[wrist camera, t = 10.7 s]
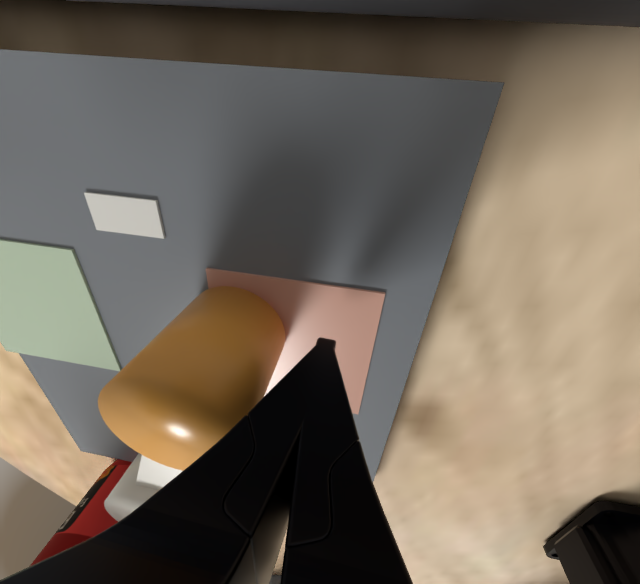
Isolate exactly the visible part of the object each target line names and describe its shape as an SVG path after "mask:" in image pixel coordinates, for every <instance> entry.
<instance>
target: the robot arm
mask: <svg viewBox="0 0 640 584" xmlns="http://www.w3.org/2000/svg"><path fill="white" fill-rule="evenodd" d="M335 348H336V341H335V340H332V339H327V338H322V337H319V338H318V339H317V342H316V345H315V346H314V347H313V348H312V349H311V350H310V351H309V352H308V353H307V354H306V355H305V356H304V357H303V358H302V359H301V360H300V361H299V362H298V363H297V364H296V365H295V366H294V367H293V368H292V369H291V370H290V371H289V372H288V373H287V374H286V375H285V376H284V377H283V378H282V379H281V380H280V381H279V382H278V383H277V384H276V385H275V386H274V387H273V388H272V389H271V390H270V391H269V392H268V393H267V394H266V395H265V396H264V397H263V398H262V399H261V400H260V401H259V402H258V403H257V404H256V405H255V406H254V407H253V408H252V409H251V410H250V411H249V412H248V414H247V415H248V416H247V415H245V416H244V417H243V418H242V419H241V420H240V421H239V422H238V423H237V424H236V425H235V426H234V427H233V428H232V429H231V430H230V431H229V432H228V433H227V434H225V435H224V436H223V437H222V438H221V439H220V440H219V441H218V442H217V443H216V444H215V445H213V446H212V447H211V448H210V449H209V450H208V451H206V452H205V453H204V454H203V455H202V456H200V457H199V458H198V459H197V460H196V461H195V462H193V463H192V464H191V465H190V466H188V467H187V468H186V469H185V470H183V471H182V472H181V473H180V474H179V475H177V476H176V477H175V478H174V479H172V480H171V481H170V482H169V483H167V484H166V485H165V486H164V487H163V488H161V489H160V490H159V491H158V492H156V493H155V494H154V495H153V496H151V497H150V498H149V499H148V500H147V501H145V502H144V503H143V504H142V505H140V506H139V507H138V508H137V509H135V510H134V511H133V512H131V513H130V514H129V515H127V516H126V517H125V518H123V519H122V520H120V521H119V522H117V523H116V524H114V525H113V526H111V527H110V528H108V529H106V530H105V531H103V532H101V533H99V534H97V535H96V536H94V537H92V538H90V539H88V540H86V541H84V542H82V543H79V544H77V545H75V546H73V547H71V548H69V549H66V550H64V551H62V552H60V553H58V554H56V555H54V556H51V557H49V558H47V559H45V560H43V561H41V562H38V563H36V564H34V565H32V566H30V567H28V568H26V569H23V570H21V571H19V572H17V573H15V574H13V575H10V576H8V577H6V578H4V579H2V580H0V584H269V583H270V579H271V576H272V573H273V570H274V567H275V564H276V561H277V558H278V555H279V551H280V548H281V545H282V542H283V539H284V536H285V533H286V530H287V536H286V544H285V552H284V560H283V567H282V575H281V583H280V584H413V583H412V580H411V578H410V575H409V573H408V570H407V568H406V565H405V563H404V560H403V558H402V556H401V553H400V551H399V548H398V546H397V543H396V541H395V538H394V536H393V533H392V531H391V528H390V526H389V523H388V521H387V519H386V516H385V514H384V511H383V509H382V506H381V503H380V501H379V498H378V495H377V493H376V490H375V487H374V485H373V482H372V479H371V476H370V473H369V469H368V466H367V463H366V460H365V456H364V453H363V449H362V446H361V442H360V441H359V435H358V432H357V428H356V425H355V421H354V418H353V414H352V410H351V407H350V403H349V400H348V396H347V392H346V389H345V385H344V382H343V378H342V374H341V371H340V367H339V364H338V360H337V356H336V353H335ZM287 527H288V528H287ZM543 548H544V550H545V553H546V555H547V557H549V558H553V559H557V560H560V562H561V564H562V567H563V569H564V571H565V574H566V576H567V578H568V580H569V583H570V584H640V507H635V506H630V505H625V504H620V503H615V502H610V501H600V502H596V503H594V504H593V505H592V506H590V507H589V508H588V509H587V510H586V511H584V512H583V513H582V514H581V515H580V516H578V517H577V518H576V519H575V520H574V521H572V522H571V523H570V524H569V525H568V526H566V527H565V528H564V529H563V530H562V531H560V532H559V533H558V534H557V535H556V536H554V537H553V538H552V539H551V540H550V541H548V542H547V543H546V544H545V545H544V546H543Z"/></svg>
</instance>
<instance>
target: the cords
mask: <svg viewBox="0 0 640 584" xmlns="http://www.w3.org/2000/svg"><path fill="white" fill-rule="evenodd" d="M68 1H89V2H111V3H132V4H154V5H175V6H197V7H219V8H240V9H262V10H283V11H305V12H326V13H348V14H369V15H391V16H412V17H434V18H456V19H477V20H499V21H520V22H542V23H563V24H585V25H606V26H628V27H640V0H68Z"/></svg>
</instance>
